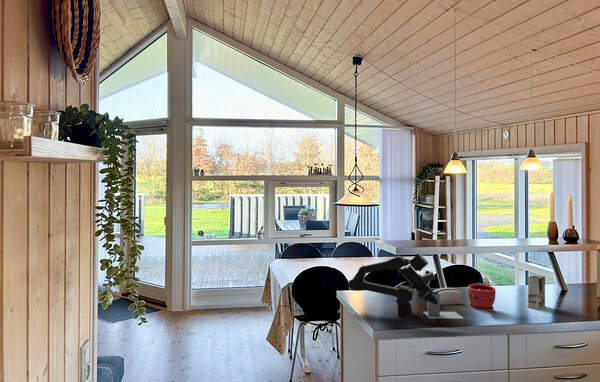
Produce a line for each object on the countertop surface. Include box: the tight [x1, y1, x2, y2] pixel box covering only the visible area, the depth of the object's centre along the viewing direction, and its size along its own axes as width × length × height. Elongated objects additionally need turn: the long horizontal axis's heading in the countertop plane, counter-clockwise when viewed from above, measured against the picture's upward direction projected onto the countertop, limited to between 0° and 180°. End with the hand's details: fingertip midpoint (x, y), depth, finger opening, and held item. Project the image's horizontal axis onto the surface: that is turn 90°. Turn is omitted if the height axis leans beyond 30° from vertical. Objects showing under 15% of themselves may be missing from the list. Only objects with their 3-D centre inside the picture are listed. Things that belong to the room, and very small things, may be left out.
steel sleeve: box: [427, 291, 441, 317], centre depth 202 cm, size 5×5×10 cm
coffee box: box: [527, 275, 546, 311], centre depth 223 cm, size 9×6×16 cm
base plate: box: [423, 311, 464, 319], centre depth 202 cm, size 16×11×4 cm
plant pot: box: [467, 284, 497, 313], centre depth 217 cm, size 13×13×12 cm
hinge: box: [432, 287, 462, 305], centre depth 229 cm, size 17×5×10 cm, turn 100°
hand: (436, 301), depth 202 cm, fingers open, 9 cm apart
